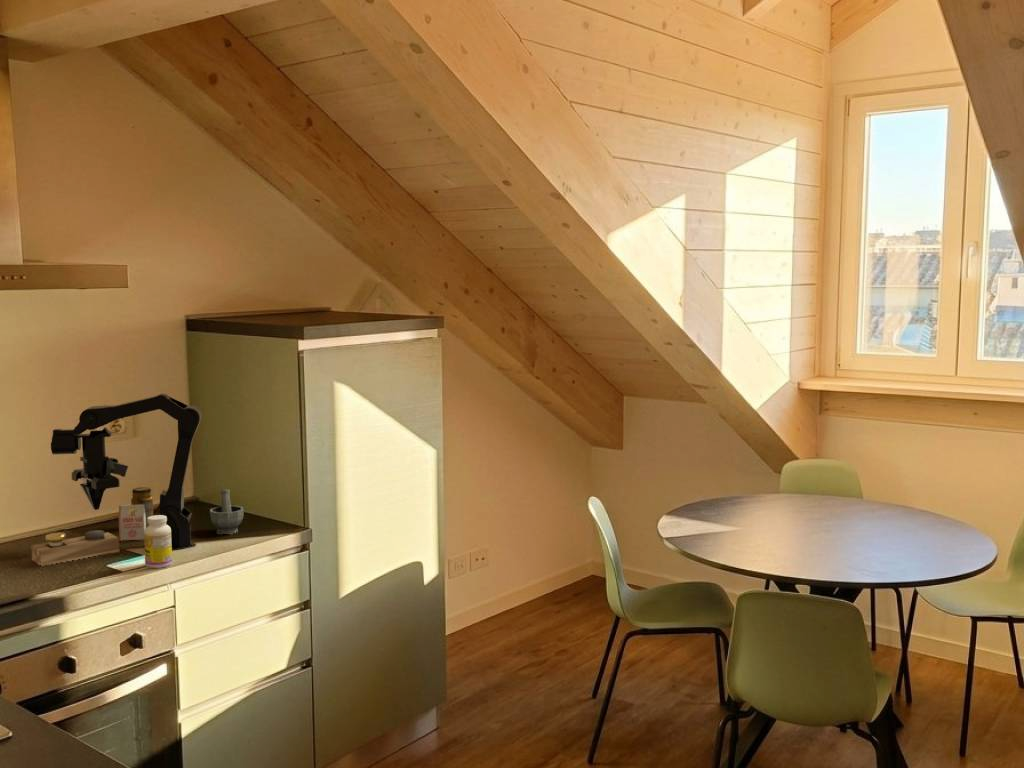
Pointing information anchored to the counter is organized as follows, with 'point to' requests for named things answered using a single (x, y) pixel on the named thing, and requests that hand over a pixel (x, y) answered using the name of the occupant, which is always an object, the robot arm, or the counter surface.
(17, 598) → the counter surface
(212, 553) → the counter surface
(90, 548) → the oak block
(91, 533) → the grey domed piece
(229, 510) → the mortar and pestle
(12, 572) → the counter surface
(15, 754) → the counter surface
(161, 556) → the supplement bottle
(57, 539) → the brass plug
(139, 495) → the condiment
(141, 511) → the white printed box
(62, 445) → the robot arm
